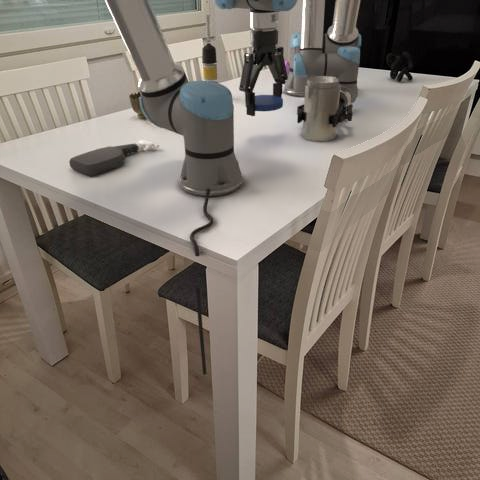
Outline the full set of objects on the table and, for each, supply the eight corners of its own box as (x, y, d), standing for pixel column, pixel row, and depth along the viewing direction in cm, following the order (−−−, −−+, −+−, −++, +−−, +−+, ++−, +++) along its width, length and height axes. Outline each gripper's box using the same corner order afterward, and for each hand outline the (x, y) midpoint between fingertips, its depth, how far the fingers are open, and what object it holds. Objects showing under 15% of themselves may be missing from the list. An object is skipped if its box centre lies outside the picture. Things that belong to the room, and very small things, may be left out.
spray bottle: (67, 168, 120) (139, 144, 136) (91, 178, 114) (163, 151, 130) (65, 157, 118) (137, 134, 134) (89, 167, 112) (162, 142, 128)
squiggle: (400, 92, 202) (376, 71, 205) (417, 76, 202) (392, 56, 205) (405, 81, 191) (380, 59, 194) (423, 64, 191) (397, 42, 194)
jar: (295, 135, 140) (298, 79, 131) (317, 128, 145) (321, 74, 136) (320, 143, 133) (325, 85, 124) (342, 136, 139) (348, 79, 130)
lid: (283, 100, 135) (283, 94, 134) (282, 111, 126) (282, 105, 125) (247, 100, 136) (247, 94, 135) (244, 111, 127) (243, 105, 126)
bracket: (285, 77, 208) (285, 62, 204) (275, 76, 211) (275, 60, 207) (299, 72, 216) (300, 57, 213) (289, 71, 219) (290, 56, 216)
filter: (220, 99, 177) (217, 15, 161) (206, 100, 176) (202, 16, 160) (215, 96, 182) (212, 14, 166) (202, 97, 180) (197, 14, 164)
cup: (127, 118, 157) (124, 95, 153) (141, 113, 163) (138, 90, 159) (144, 121, 154) (141, 97, 150) (157, 115, 160) (154, 92, 156)
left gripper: (244, 36, 111) (246, 122, 123) (302, 25, 125) (298, 104, 137) (223, 33, 116) (227, 117, 127) (281, 23, 129) (280, 99, 141)
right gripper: (369, 117, 147) (352, 137, 130) (303, 109, 156) (280, 128, 139) (372, 94, 143) (355, 112, 126) (305, 87, 152) (280, 103, 135)
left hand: (264, 110), depth 132 cm, fingers closed on lid, 11 cm apart
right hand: (316, 120), depth 133 cm, fingers closed on jar, 10 cm apart
